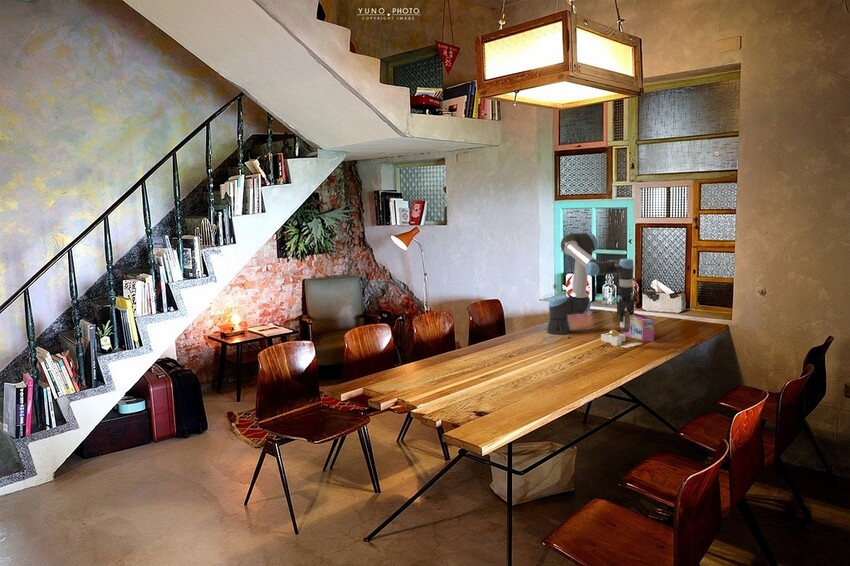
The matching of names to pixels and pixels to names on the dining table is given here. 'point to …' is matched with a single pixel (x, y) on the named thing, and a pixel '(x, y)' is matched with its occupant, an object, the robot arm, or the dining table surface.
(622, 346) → the board
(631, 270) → the robot arm
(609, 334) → the dome
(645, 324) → the gum box
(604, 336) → the dome collar
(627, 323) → the brown rounded rod
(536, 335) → the dining table surface
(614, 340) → the die
